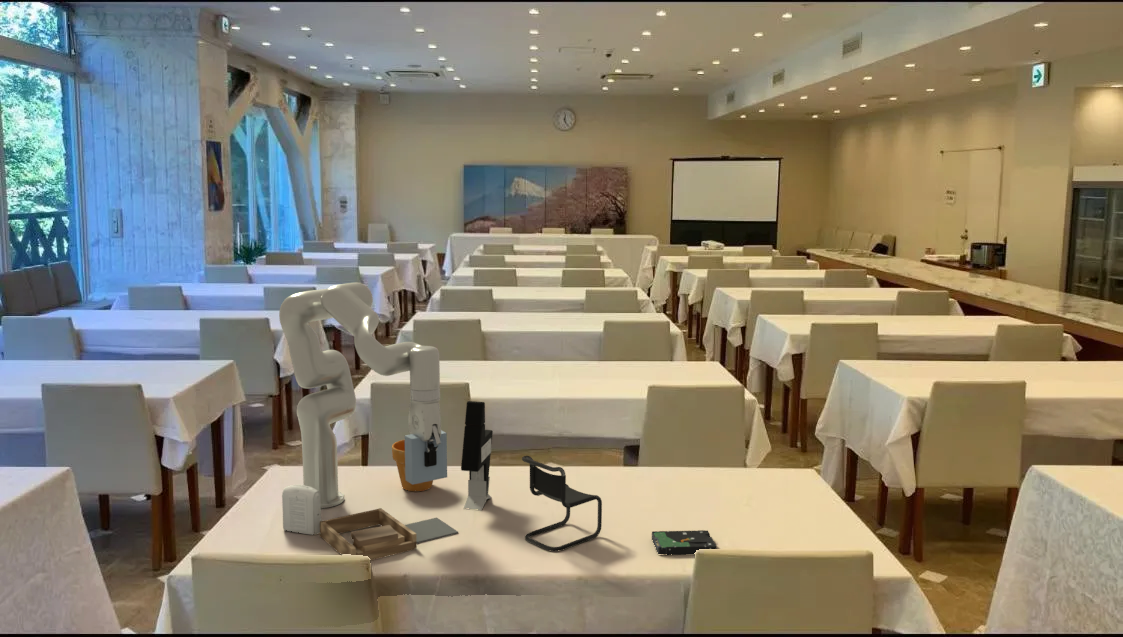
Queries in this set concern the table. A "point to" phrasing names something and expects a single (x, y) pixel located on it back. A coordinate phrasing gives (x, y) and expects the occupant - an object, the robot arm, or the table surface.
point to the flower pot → (399, 457)
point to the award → (476, 455)
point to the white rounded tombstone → (301, 509)
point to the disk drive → (682, 541)
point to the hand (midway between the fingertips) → (426, 462)
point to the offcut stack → (375, 538)
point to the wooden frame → (363, 520)
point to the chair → (558, 499)
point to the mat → (430, 529)
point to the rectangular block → (416, 461)
